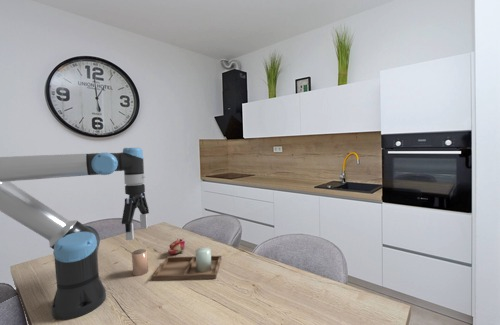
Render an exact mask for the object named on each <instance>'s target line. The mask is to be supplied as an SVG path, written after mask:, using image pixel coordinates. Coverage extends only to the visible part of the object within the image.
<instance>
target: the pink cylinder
mask: <svg viewBox="0 0 500 325" xmlns="http://www.w3.org/2000/svg"><path fill="white" fill-rule="evenodd" d="M148 260H149V258H148V249H147V248H139V249H136V250H134V251H132V252H131V264H132V275H133V276H134V277H140V276H145V275H146V274H148V273H149V261H148Z"/></svg>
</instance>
